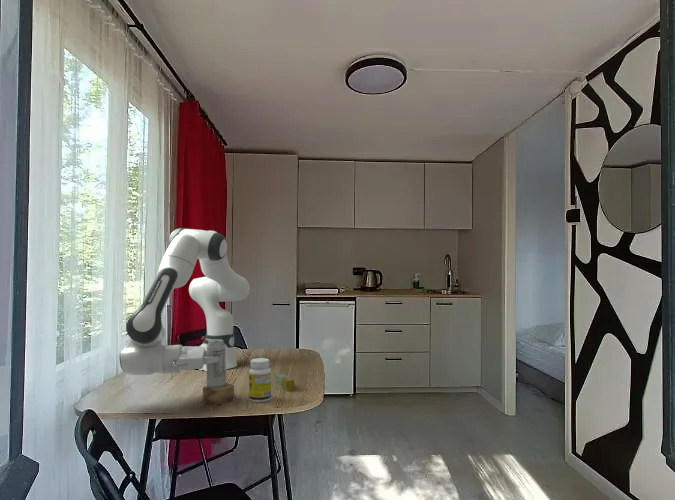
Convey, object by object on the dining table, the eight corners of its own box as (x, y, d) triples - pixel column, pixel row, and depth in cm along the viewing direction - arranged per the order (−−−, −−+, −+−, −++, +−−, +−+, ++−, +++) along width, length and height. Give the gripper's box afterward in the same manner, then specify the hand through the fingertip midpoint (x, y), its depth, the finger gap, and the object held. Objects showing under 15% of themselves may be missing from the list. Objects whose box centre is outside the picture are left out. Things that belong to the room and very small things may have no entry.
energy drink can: (220, 383, 159) (219, 338, 159) (229, 386, 154) (228, 340, 155) (203, 386, 155) (203, 340, 155) (212, 390, 150) (211, 342, 150)
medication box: (274, 384, 174) (274, 373, 174) (281, 383, 175) (281, 372, 175) (287, 392, 163) (287, 380, 163) (294, 390, 164) (294, 379, 164)
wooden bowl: (196, 402, 152) (196, 389, 152) (214, 394, 161) (214, 381, 161) (222, 405, 148) (222, 391, 148) (240, 396, 158) (240, 383, 158)
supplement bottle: (250, 396, 157) (249, 357, 158) (272, 395, 158) (271, 357, 158) (248, 403, 150) (247, 362, 150) (271, 402, 151) (270, 361, 151)
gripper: (171, 355, 142) (218, 352, 145) (177, 344, 162) (218, 341, 165) (171, 376, 142) (218, 372, 145) (177, 362, 162) (219, 359, 165)
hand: (218, 356), depth 155 cm, fingers open, 8 cm apart
